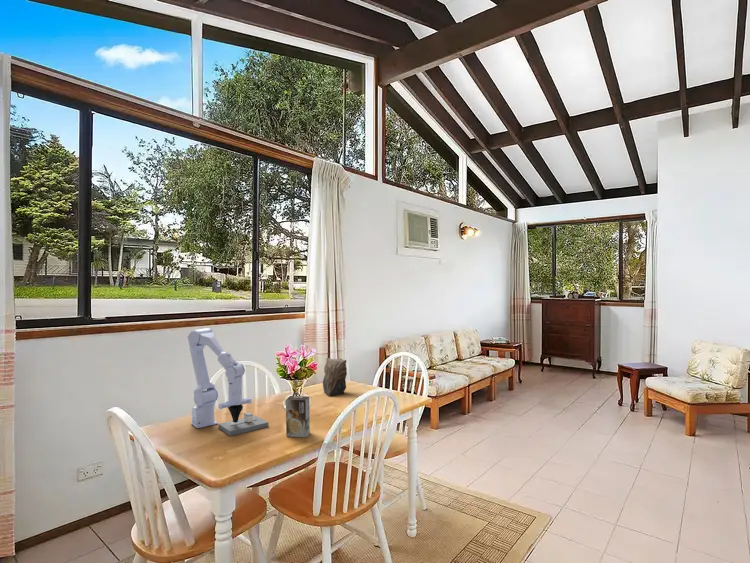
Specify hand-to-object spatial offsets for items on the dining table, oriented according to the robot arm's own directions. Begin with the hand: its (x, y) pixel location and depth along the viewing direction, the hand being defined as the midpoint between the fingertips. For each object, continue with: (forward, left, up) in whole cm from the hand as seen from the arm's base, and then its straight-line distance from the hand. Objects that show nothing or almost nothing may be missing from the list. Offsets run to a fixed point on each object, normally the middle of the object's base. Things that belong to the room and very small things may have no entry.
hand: (235, 421), depth 194 cm
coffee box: (+18, -24, -4) cm, 30 cm away
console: (+4, 0, -3) cm, 5 cm away
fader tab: (+6, 0, -1) cm, 6 cm away
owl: (+68, +20, -4) cm, 71 cm away
